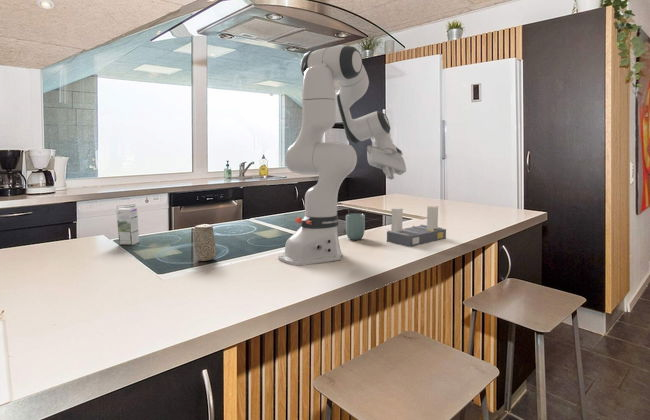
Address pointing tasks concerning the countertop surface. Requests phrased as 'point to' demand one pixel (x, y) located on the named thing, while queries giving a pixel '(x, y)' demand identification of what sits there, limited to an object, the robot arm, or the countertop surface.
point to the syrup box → (127, 225)
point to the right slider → (432, 217)
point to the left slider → (396, 219)
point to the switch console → (416, 235)
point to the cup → (355, 226)
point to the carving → (204, 242)
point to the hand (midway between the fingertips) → (390, 178)
